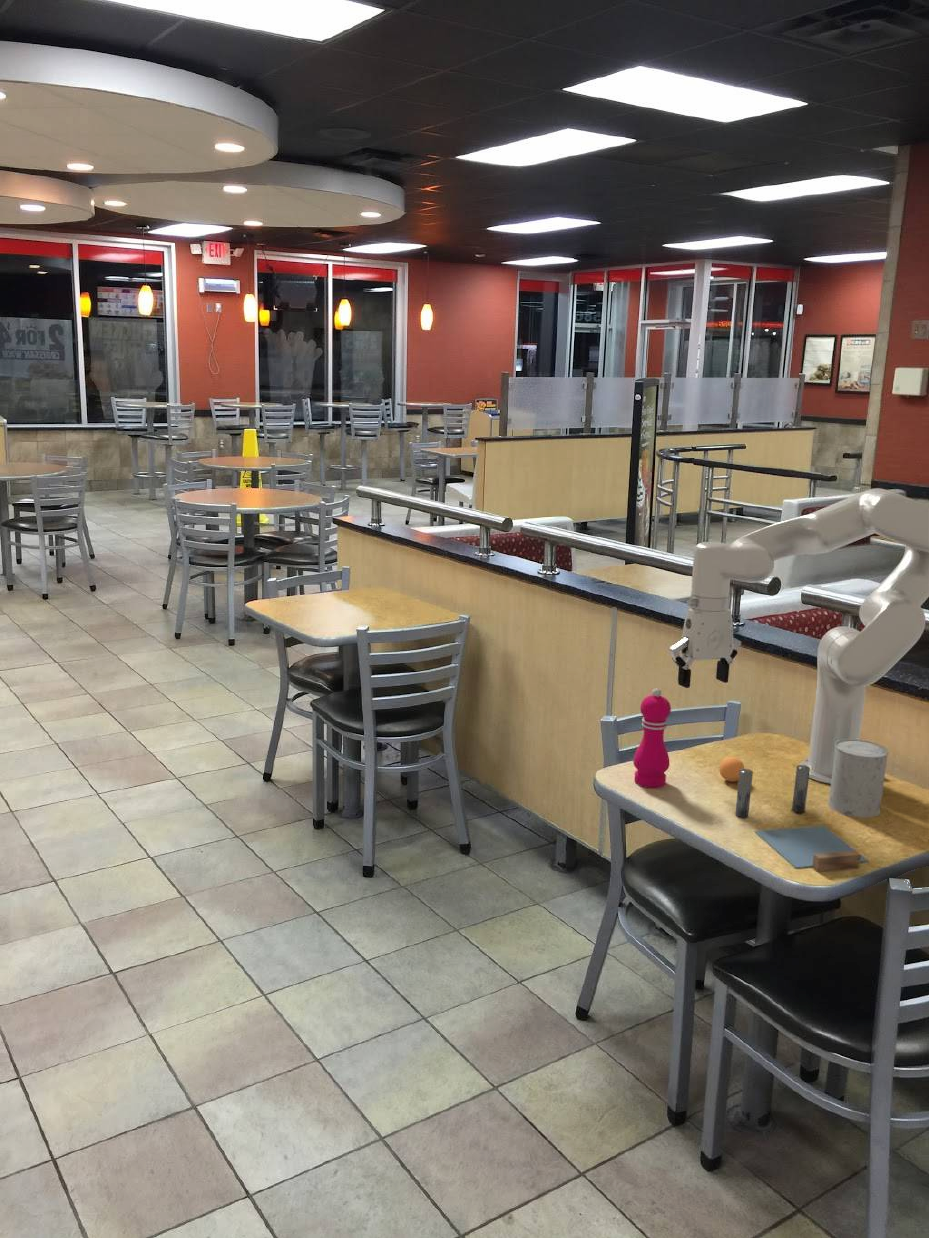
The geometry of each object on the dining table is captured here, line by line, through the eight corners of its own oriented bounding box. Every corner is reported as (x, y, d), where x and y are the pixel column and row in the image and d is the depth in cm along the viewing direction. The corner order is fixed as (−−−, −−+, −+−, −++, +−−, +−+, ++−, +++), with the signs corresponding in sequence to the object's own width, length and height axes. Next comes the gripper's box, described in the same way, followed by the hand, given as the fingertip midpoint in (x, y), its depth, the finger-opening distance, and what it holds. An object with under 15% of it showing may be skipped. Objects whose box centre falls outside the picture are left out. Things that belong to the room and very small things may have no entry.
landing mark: (823, 826, 189) (823, 825, 189) (868, 861, 175) (868, 860, 175) (754, 832, 186) (755, 831, 186) (795, 868, 172) (795, 867, 172)
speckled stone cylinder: (853, 820, 192) (861, 759, 189) (817, 801, 200) (824, 742, 197) (891, 813, 195) (899, 753, 192) (854, 794, 204) (862, 736, 201)
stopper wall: (853, 863, 175) (855, 850, 174) (859, 867, 173) (860, 854, 173) (812, 867, 173) (813, 854, 172) (817, 871, 171) (818, 858, 171)
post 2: (800, 808, 196) (805, 764, 194) (807, 813, 194) (812, 769, 192) (789, 809, 196) (794, 765, 194) (795, 814, 194) (801, 770, 192)
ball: (736, 775, 212) (738, 752, 211) (747, 784, 207) (750, 761, 206) (714, 776, 211) (716, 754, 209) (725, 786, 206) (727, 763, 205)
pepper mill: (670, 789, 203) (678, 694, 199) (634, 788, 204) (641, 693, 199) (664, 775, 210) (672, 683, 206) (629, 774, 211) (636, 682, 206)
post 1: (744, 812, 194) (748, 768, 192) (750, 817, 192) (755, 773, 189) (732, 813, 193) (737, 769, 191) (739, 818, 191) (743, 774, 189)
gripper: (685, 610, 200) (679, 693, 204) (755, 603, 207) (748, 684, 211) (663, 602, 206) (657, 683, 210) (731, 596, 213) (724, 674, 217)
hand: (703, 683), depth 211 cm, fingers open, 9 cm apart
